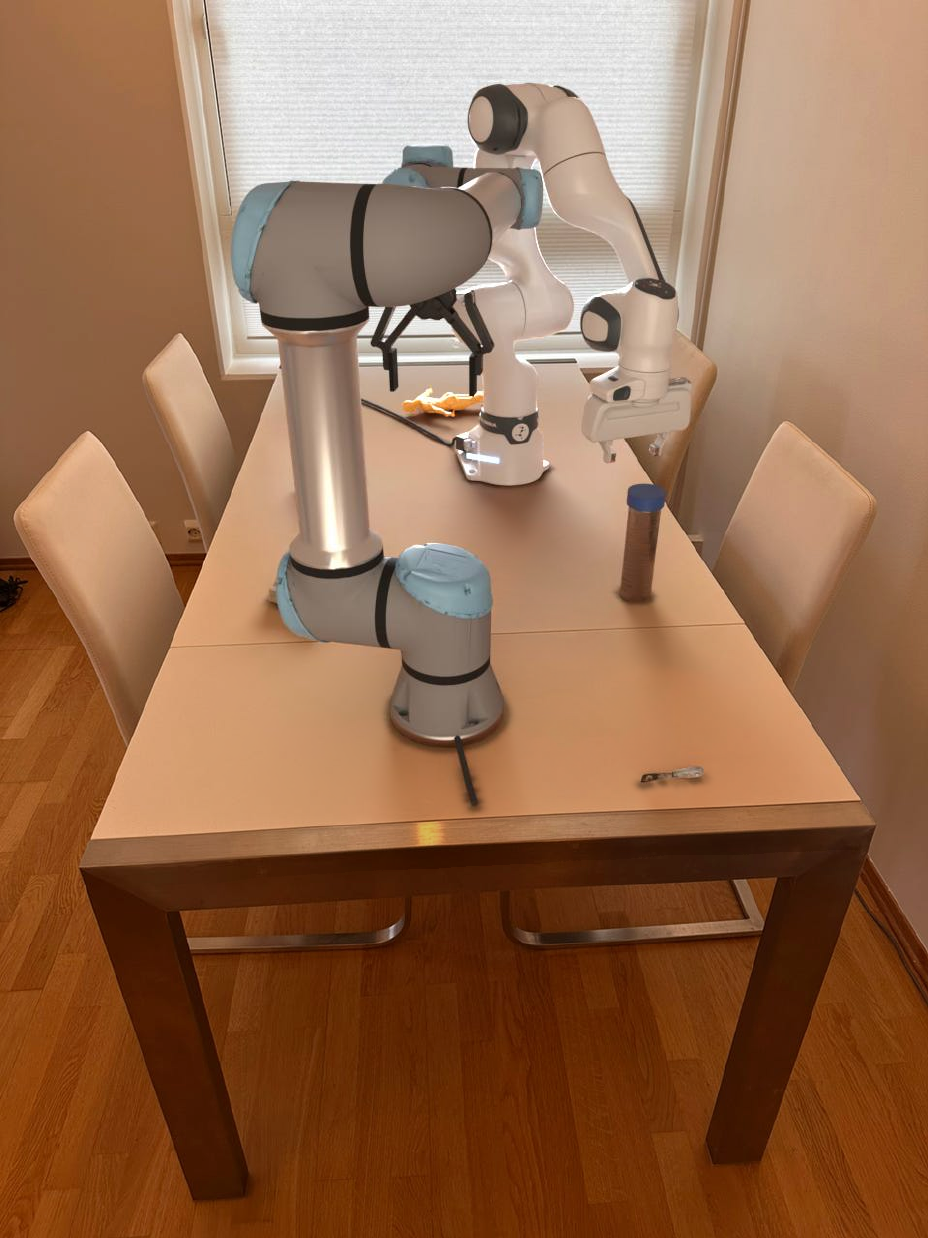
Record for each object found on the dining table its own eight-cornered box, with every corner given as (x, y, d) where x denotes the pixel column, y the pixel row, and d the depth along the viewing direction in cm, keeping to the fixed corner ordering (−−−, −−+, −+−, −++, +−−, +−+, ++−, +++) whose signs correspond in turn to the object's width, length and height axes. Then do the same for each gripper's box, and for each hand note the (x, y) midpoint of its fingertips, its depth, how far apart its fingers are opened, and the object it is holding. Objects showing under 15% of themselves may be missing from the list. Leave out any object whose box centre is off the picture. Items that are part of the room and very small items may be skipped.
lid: (629, 494, 142) (631, 481, 141) (666, 498, 140) (668, 485, 139) (623, 509, 137) (624, 496, 136) (661, 513, 136) (663, 500, 134)
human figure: (395, 413, 223) (394, 398, 221) (438, 390, 237) (438, 375, 235) (462, 429, 215) (462, 413, 213) (502, 404, 229) (503, 388, 227)
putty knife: (703, 777, 109) (705, 767, 109) (642, 788, 108) (644, 777, 107) (700, 772, 110) (702, 762, 109) (639, 782, 109) (640, 771, 108)
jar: (622, 585, 150) (632, 485, 141) (652, 589, 149) (664, 489, 139) (617, 599, 146) (627, 497, 136) (648, 604, 145) (660, 502, 135)
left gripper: (513, 255, 139) (510, 389, 150) (360, 249, 144) (368, 380, 155) (505, 264, 133) (502, 403, 144) (345, 258, 137) (355, 393, 149)
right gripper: (683, 370, 157) (671, 444, 165) (581, 382, 150) (573, 459, 158) (704, 381, 152) (691, 457, 160) (599, 393, 146) (591, 472, 153)
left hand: (433, 391), depth 149 cm, fingers open, 13 cm apart
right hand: (632, 458), depth 159 cm, fingers open, 8 cm apart
